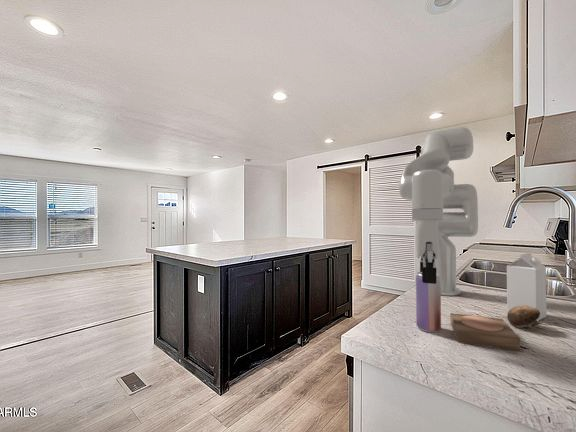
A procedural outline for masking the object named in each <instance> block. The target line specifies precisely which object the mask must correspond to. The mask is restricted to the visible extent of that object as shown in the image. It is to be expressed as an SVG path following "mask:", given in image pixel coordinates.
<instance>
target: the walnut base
mask: <svg viewBox="0 0 576 432" xmlns="http://www.w3.org/2000/svg"><path fill="white" fill-rule="evenodd" d="M449 315H450V316H449V317H450V318H449V320H450V326H451V328H452V330H453V333H454V336H455V338H456V340H457V342H458V343H461V344H468V345H469V344H470V345H475V346H481V347H489V348H495V349H503V350H510V351H515V352H521V337H519V335H518V334H517V333H516V332H515V330H513V329H512V327H511V326H510V325H508V323H507V322H506V321H505V320H504V319H503V318H496V317H489V316H488V317H487V316H481V315H480V316H479V315H469V314H462V313H453V312H450V314H449Z"/></svg>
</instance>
